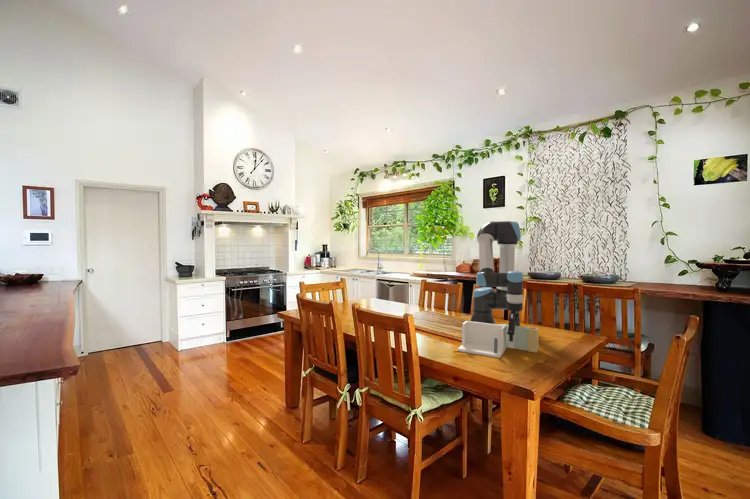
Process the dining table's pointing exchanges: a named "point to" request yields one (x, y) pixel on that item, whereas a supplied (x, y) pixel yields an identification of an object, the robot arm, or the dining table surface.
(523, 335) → the door
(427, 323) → the dining table surface
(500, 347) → the box
